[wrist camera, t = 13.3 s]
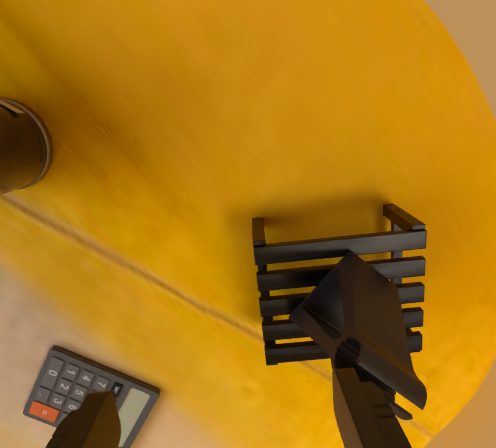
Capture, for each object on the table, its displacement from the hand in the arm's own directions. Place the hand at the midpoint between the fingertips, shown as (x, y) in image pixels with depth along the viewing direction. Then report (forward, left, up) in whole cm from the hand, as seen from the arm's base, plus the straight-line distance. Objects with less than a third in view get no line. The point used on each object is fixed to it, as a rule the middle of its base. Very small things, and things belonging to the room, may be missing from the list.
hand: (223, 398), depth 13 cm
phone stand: (+9, -9, -21) cm, 25 cm away
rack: (+9, -9, -29) cm, 32 cm away
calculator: (-23, -25, -29) cm, 45 cm away
